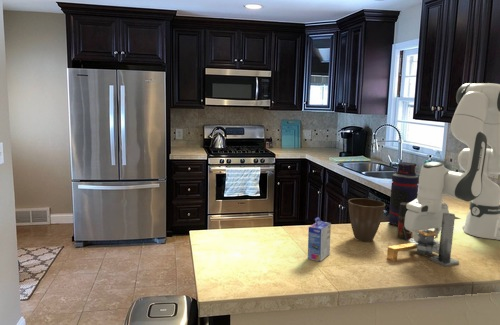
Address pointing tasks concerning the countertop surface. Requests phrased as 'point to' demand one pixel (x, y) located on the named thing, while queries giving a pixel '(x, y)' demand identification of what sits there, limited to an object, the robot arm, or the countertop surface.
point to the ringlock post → (438, 247)
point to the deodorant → (402, 231)
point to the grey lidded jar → (426, 240)
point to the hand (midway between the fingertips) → (425, 239)
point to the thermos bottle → (403, 189)
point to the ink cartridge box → (319, 240)
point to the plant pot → (365, 217)
